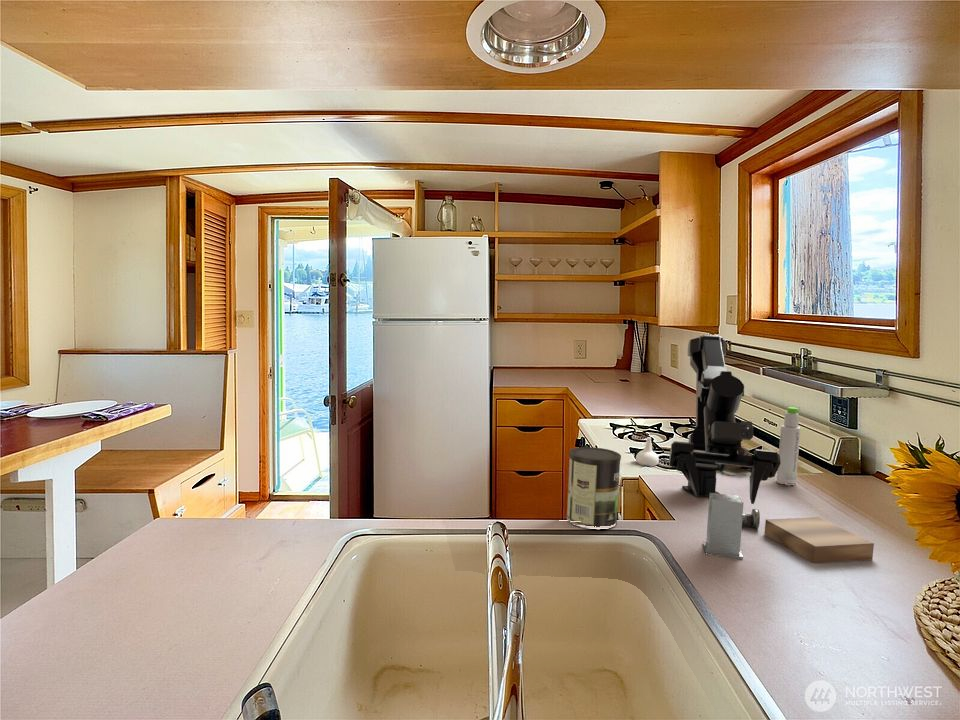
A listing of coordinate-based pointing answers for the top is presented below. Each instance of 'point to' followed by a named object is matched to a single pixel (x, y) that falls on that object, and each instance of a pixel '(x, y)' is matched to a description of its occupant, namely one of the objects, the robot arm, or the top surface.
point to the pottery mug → (741, 452)
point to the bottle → (789, 448)
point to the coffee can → (593, 486)
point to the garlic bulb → (647, 455)
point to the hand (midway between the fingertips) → (724, 499)
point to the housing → (724, 526)
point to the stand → (819, 540)
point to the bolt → (751, 519)
